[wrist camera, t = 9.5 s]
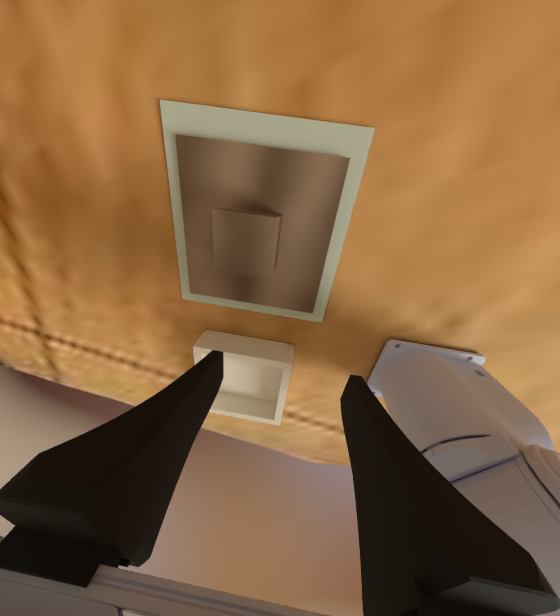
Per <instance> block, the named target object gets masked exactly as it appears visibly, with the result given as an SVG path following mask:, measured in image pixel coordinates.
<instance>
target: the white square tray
mask: <svg viewBox="0 0 560 616" xmlns="http://www.w3.org/2000/svg"><path fill="white" fill-rule="evenodd" d="M212 350H216V351H222V352H223V356H224V378H223V381H222V383H221V386H220V389H219V391H218V394H217V396H216V398H215V400H214V402H213V404H212V406H211V408H210V410H209V412H211V413H217V414H222V415H227V416H232V417H237V418H243V419H248V420H253V421H258V422H264V423H269V424H274V425H279V426H280V422H281V417H282V413H283V408H284V404H285V399H286V394H287V390H288V385H289V380H290V376H291V371H292V367H293V358H294V345H293V344H287V343H281V342H276V341H270V340H264V339H259V338H253V337H247V336H241V335H236V334H230V333H224V332H219V331H213V330H207V329H206V330H205V331H204V333H203V334H202V335H201V336H200V338H199V339H198V340H197V341H196V343H195V344H194V345H193V354H194V364H197V363H198V362H199V361H200V360H201V359H203V358H204V357H205V356H206V355H207V354H208V353H210V352H211V351H212Z"/></svg>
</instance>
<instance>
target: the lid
mask: <svg viewBox="0 0 560 616" xmlns="http://www.w3.org/2000/svg"><path fill="white" fill-rule="evenodd" d="M175 138H176V149H177V160H178V170H179V181H180V192H181V202H182V213H183V224H184V234H185V245H186V256H187V266H188V277H189V288H190V293H193V294H199V295H205V296H211V297H217V298H223V299H229V300H235V301H241V302H247V303H253V304H259V305H265V306H271V307H277V308H283V309H289V310H295V311H301V312H306V313H312V314H313V311H314V307H315V303H316V299H317V294H318V290H319V286H320V282H321V278H322V274H323V269H324V265H325V261H326V257H327V253H328V249H329V244H330V240H331V236H332V232H333V228H334V224H335V219H336V215H337V211H338V207H339V203H340V199H341V194H342V190H343V186H344V182H345V178H346V174H347V169H348V165H349V161H350V158H347V157H340V156H333V155H326V154H318V153H311V152H304V151H296V150H289V149H282V148H274V147H267V146H260V145H253V144H245V143H238V142H231V141H223V140H216V139H209V138H202V137H194V136H187V135H180V134H175Z"/></svg>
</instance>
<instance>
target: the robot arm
mask: <svg viewBox="0 0 560 616" xmlns="http://www.w3.org/2000/svg"><path fill="white" fill-rule="evenodd" d="M397 344H399V345H397ZM395 345H397V346H395ZM485 360H486V358H485V357H484V356H483V355H481V354H476V353H471V352H465V351H459V350H453V349H447V348H441V347H436V346H430V345H424V344H418V343H412V342H406V341H400V340H395V339H390V340H388V341H387V342H386V344H385V346H384V348H383V350H382V352H381V354H380V357H379V359H378V361H377V363H376V365H375V367H374V369H373V371H372V373H371V375H370V377H369V379H368V381H367V383H366V382H365V381H364V379H363V378H362V376H356V375H350V377H349V379H348V382H347V384H346V387H345V389H344V391H343V394H342V396H341V399H340V401H341V414H342V421H343V427H344V432H345V437H346V442H347V447H348V452H349V457H350V462H351V467H352V474H353V482H354V491H355V500H356V511H357V521H358V532H359V547H360V560H361V579H362V600H363V614H364V616H560V453H558V452H556V451H555V447H554V444H553V441H552V439H551V437H550V435H549V433H548V431H547V430H546V428H545V427H544V425H543V424H542V423H541V421H540V420H539V419H538V418H537V417H536V416H535V415H534V414H533V413H532V412H531V411H530V410H529V409H528V408H526V407H525V406H524V405H523V404H522V403H521V402H520V401H519V400H518V399H517V398H516V397H515V396H513V395H512V394H511V393H510V392H509V391H508V390H507V389H506V388H505V387H504V386H503V385H502V384H500V383H499V382H498V381H497V380H496V379H495V378H494V377H493V376H492V375H491V374H490V373H489V372H487V371H486V370H485V369H484V368H483V367H482V366H481V365H482V364H483V363H484V361H485ZM223 378H224V356H223V352H222V351H216V350H212V351H211V352H210V353H208V354H207V355H206V356H205V357H204V358H203V359H201V360H200V361H199V362H198V363H197V364H195V365H194V366H193V367H192V368H191V369H189V370H188V371H187V372H186V373H184V374H183V375H182V376H180V377H179V378H178V379H176V380H175V381H174V382H172V383H171V384H170V385H168V386H167V387H166V388H164V389H163V390H161V391H160V392H158V393H157V394H155V395H154V396H152V397H151V398H149V399H147V400H146V401H144V402H143V403H141V404H139V405H137V406H136V407H134V408H132V409H131V410H129V411H127V412H125V413H124V414H122V415H120V416H118V417H116V418H114V419H112V420H111V421H109V422H107V423H105V424H103V425H101V426H99V427H97V428H95V429H93V430H91V431H88V432H86V433H84V434H82V435H80V436H78V437H76V438H73V439H71V440H69V441H67V442H64V443H62V444H60V445H57V446H55V447H53V448H51V449H48V450H46V451H43V452H41V453H39V454H38V455H37V456H36V457H35V458H33V460H31V461H30V462H29V463H28V464H27V465H26V466H25V467H24V468H23V469H21V471H19V472H18V473H17V474H16V475H15V476H14V477H13V478H12V479H11V480H10V481H9V482H8V483H7V484H6V485H5V486H3V487H2V488H1V489H0V515H1V516H2V517H4V518H5V519H7V520H8V521H10V522H11V523H12V524H14V525H15V527H14V528H13V529H12V530H11V531H10V532H9V534H8V535H7V536H6V537H5V538H4V537H2V536H0V616H124V615H123V612H122V611H125V612H130V613H134V614H138V615H143V616H329V615H324V614H320V613H315V612H310V611H306V610H302V609H297V608H293V607H288V606H284V605H279V604H275V603H271V602H266V601H262V600H257V599H252V598H248V597H244V596H239V595H235V594H230V593H226V592H222V591H217V590H213V589H208V588H203V587H199V586H195V585H190V584H186V583H181V582H177V581H172V580H168V579H164V578H159V577H155V576H150V575H146V574H141V573H137V572H132V571H128V570H124V569H119V568H118V566H119V565H120V566H125V567H128V566H129V565H132V566H136V567H139V566H141V565H142V564H143V563H145V562H146V561H147V560H148V559H149V558H150V556H151V554H152V550H153V548H154V545H155V542H156V539H157V536H158V534H159V531H160V528H161V525H162V522H163V519H164V517H165V514H166V511H167V508H168V506H169V503H170V500H171V498H172V495H173V492H174V490H175V487H176V484H177V482H178V479H179V477H180V474H181V472H182V469H183V467H184V464H185V462H186V459H187V457H188V454H189V451H190V449H191V447H192V444H193V442H194V440H195V438H196V436H197V434H198V432H199V430H200V428H201V426H202V424H203V422H204V420H205V418H206V416H207V414H208V412H209V410H210V408H211V406H212V404H213V402H214V400H215V398H216V396H217V394H218V391H219V389H220V386H221V383H222V381H223ZM376 397H380V398H383V399H384V401H385V404H386V406H387V409H388V411H389V414H390V415H389V414H388V413H387V411H386V410H385V409H384V407H383V406H382V405H381V403H380V402H379V401H378V399H377V398H376ZM390 416H391V417H390Z"/></svg>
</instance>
